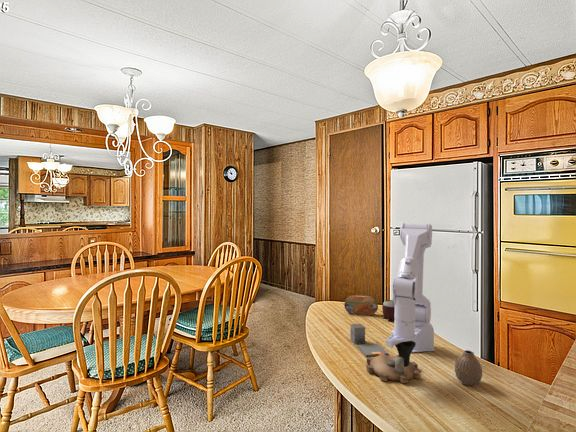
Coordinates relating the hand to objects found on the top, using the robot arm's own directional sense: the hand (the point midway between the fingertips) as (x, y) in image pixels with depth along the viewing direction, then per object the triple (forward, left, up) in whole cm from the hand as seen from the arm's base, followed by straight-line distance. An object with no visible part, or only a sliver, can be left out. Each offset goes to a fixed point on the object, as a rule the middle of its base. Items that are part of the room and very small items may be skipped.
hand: (403, 365), depth 99 cm
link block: (+4, -26, -3) cm, 26 cm away
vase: (-16, +6, -4) cm, 18 cm away
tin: (-10, -56, -4) cm, 57 cm away
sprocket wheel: (+2, -4, -3) cm, 5 cm away
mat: (+2, -18, -3) cm, 18 cm away
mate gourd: (-20, -46, -4) cm, 50 cm away
